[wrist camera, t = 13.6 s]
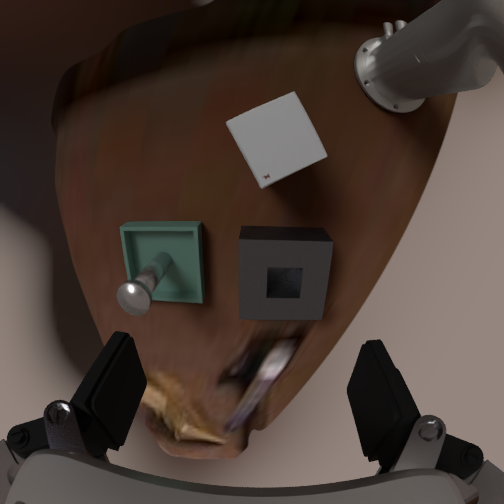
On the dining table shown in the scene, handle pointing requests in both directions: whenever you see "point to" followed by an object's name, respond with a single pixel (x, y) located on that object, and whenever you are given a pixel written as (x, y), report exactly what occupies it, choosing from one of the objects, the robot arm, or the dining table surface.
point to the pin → (143, 285)
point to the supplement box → (277, 139)
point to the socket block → (283, 272)
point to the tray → (177, 246)
